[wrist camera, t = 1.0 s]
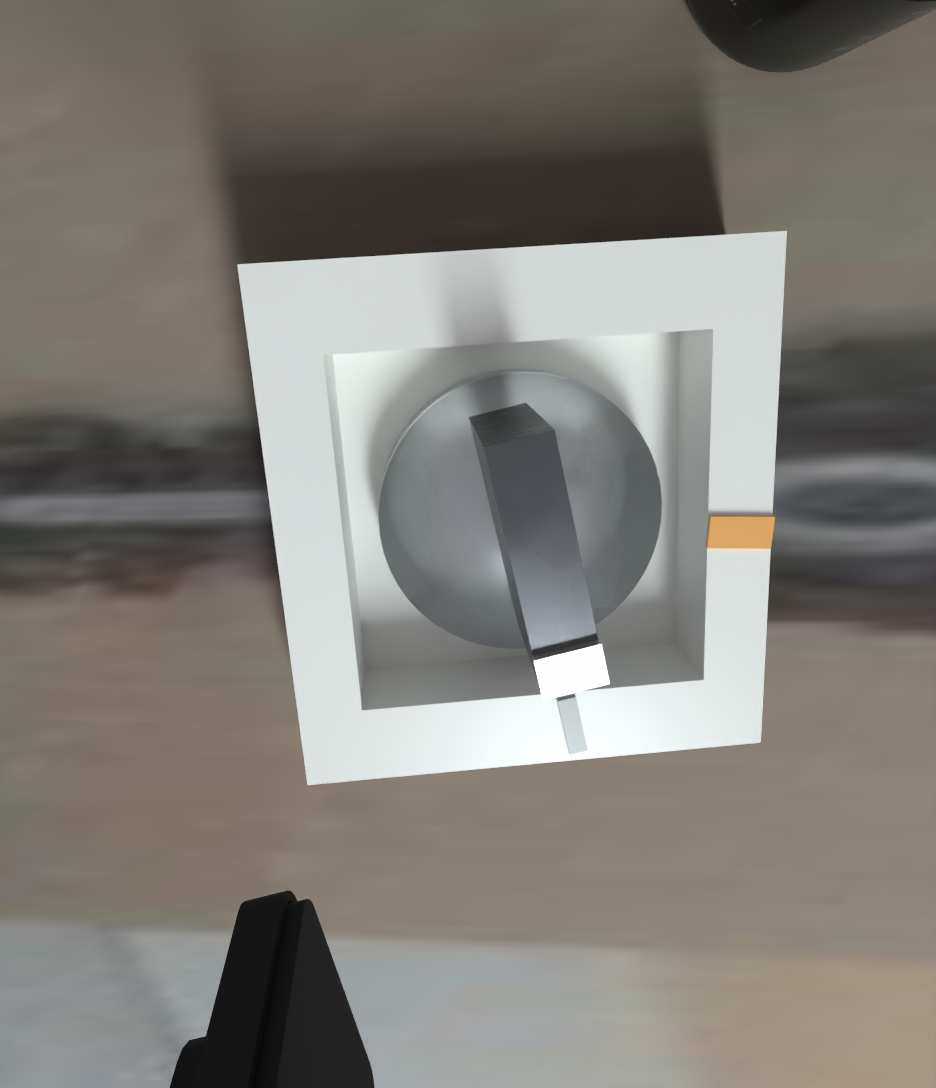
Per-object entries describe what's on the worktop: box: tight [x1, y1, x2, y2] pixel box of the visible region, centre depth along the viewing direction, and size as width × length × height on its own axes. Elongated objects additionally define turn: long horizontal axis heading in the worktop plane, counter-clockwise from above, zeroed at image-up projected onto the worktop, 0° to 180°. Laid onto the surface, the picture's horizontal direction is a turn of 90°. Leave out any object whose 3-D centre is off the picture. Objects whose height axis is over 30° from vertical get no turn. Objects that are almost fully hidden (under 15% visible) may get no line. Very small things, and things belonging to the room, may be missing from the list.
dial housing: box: [237, 231, 787, 785], centre depth 27 cm, size 15×16×5 cm
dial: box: [378, 368, 662, 700], centre depth 25 cm, size 9×9×7 cm
